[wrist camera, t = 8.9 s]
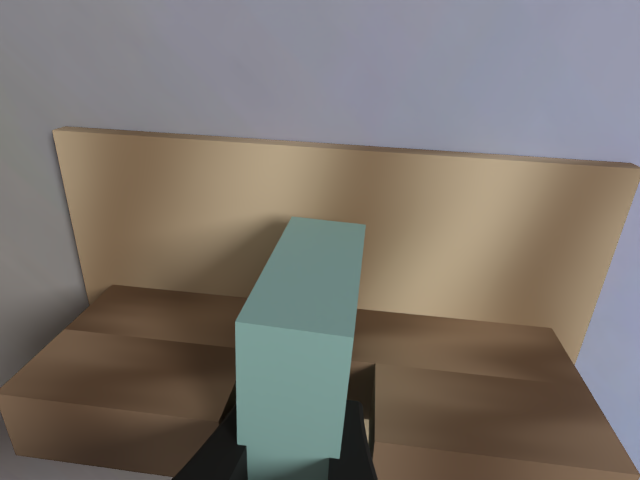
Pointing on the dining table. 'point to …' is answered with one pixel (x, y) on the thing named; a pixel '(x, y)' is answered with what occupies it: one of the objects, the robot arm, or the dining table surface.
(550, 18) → the dining table surface
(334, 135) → the dining table surface
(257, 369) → the mint green block
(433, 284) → the slotted board
